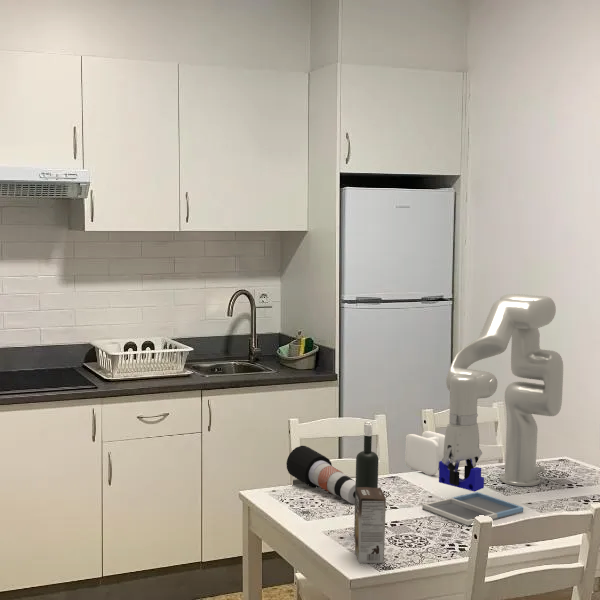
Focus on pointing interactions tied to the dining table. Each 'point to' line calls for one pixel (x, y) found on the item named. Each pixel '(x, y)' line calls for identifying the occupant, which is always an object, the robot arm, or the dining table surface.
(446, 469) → the blue u-shaped cradle
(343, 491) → the telephoto camera lens
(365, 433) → the wine bottle
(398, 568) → the dining table surface
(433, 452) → the organizer
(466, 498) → the grey divided tray
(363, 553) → the coffee box
